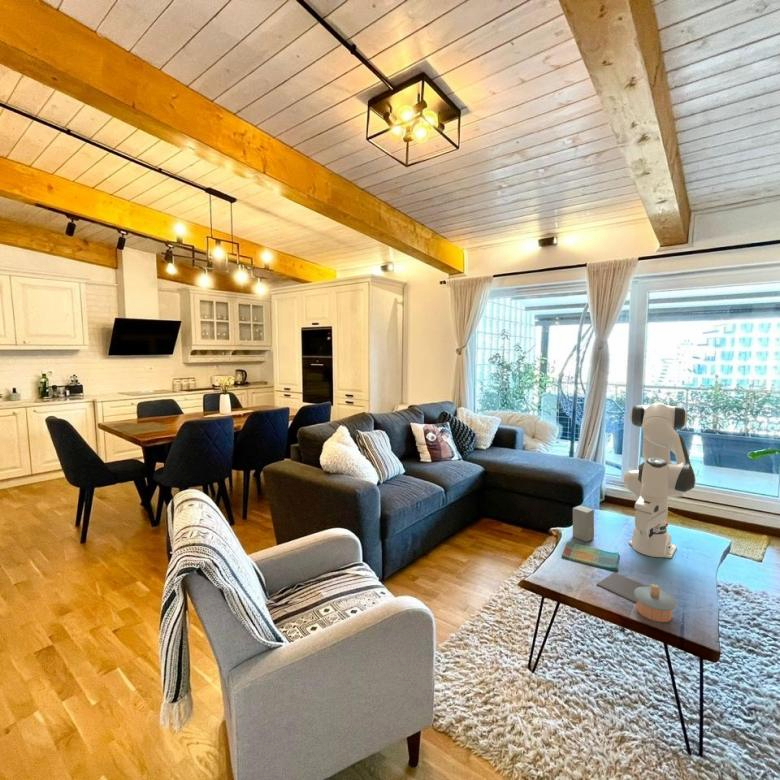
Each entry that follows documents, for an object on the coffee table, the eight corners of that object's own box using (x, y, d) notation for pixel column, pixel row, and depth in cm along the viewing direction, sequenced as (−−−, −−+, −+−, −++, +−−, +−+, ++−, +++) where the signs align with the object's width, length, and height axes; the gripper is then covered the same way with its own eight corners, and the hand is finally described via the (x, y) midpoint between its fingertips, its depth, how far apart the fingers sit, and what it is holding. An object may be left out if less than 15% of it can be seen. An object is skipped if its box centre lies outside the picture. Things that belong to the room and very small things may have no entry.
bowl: (644, 599, 161) (645, 587, 161) (676, 614, 153) (677, 601, 152) (630, 610, 155) (631, 597, 155) (663, 625, 146) (664, 612, 146)
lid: (643, 585, 162) (644, 573, 162) (681, 601, 152) (682, 588, 151) (627, 596, 155) (628, 584, 154) (666, 615, 144) (667, 601, 144)
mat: (614, 573, 180) (614, 572, 180) (652, 589, 168) (652, 588, 168) (596, 584, 171) (596, 583, 171) (635, 603, 159) (635, 601, 159)
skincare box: (594, 539, 213) (595, 509, 211) (586, 543, 209) (587, 512, 207) (578, 533, 220) (580, 504, 218) (570, 536, 216) (572, 507, 214)
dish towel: (618, 574, 181) (618, 568, 181) (561, 559, 193) (561, 554, 193) (620, 557, 196) (620, 552, 195) (566, 544, 208) (566, 540, 207)
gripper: (656, 492, 167) (653, 525, 169) (632, 505, 155) (629, 540, 157) (673, 497, 162) (671, 530, 164) (650, 510, 150) (648, 546, 152)
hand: (650, 535), depth 160 cm, fingers open, 8 cm apart
